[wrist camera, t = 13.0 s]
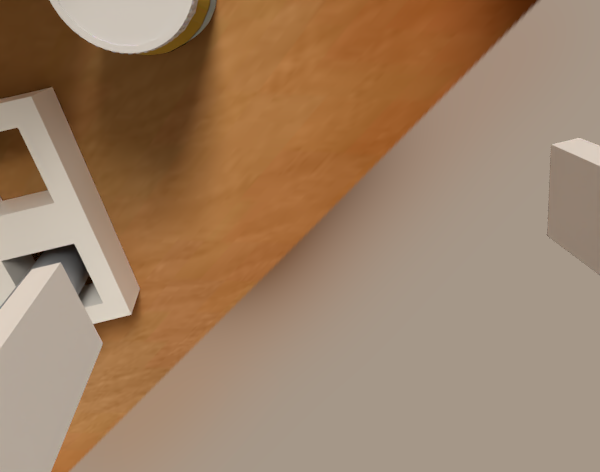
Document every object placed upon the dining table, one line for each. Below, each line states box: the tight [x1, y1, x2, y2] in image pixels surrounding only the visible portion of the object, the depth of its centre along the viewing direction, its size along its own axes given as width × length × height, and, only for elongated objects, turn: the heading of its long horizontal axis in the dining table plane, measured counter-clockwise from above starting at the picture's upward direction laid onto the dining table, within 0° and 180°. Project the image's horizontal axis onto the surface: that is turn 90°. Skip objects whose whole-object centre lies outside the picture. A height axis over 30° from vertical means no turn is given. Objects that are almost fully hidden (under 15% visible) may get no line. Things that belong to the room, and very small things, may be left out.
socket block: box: [0, 87, 140, 324], centre depth 36 cm, size 14×18×4 cm
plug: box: [0, 244, 89, 309], centre depth 36 cm, size 4×4×10 cm
